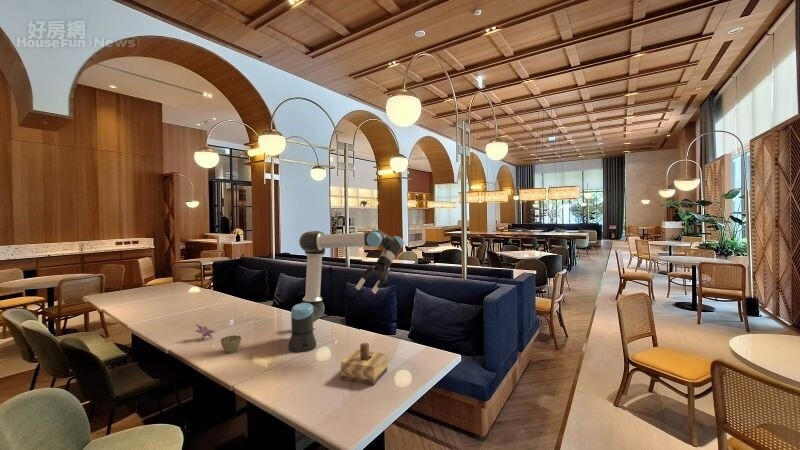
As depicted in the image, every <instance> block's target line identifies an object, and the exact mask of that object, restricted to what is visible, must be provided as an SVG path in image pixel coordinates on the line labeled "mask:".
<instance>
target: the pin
mask: <svg viewBox="0 0 800 450" xmlns="http://www.w3.org/2000/svg"><path fill="white" fill-rule="evenodd" d="M359 347H360V348H359V350H360V360H365V361H368V360H369V352H370V343H367V342H363V343H360V345H359Z"/></svg>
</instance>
